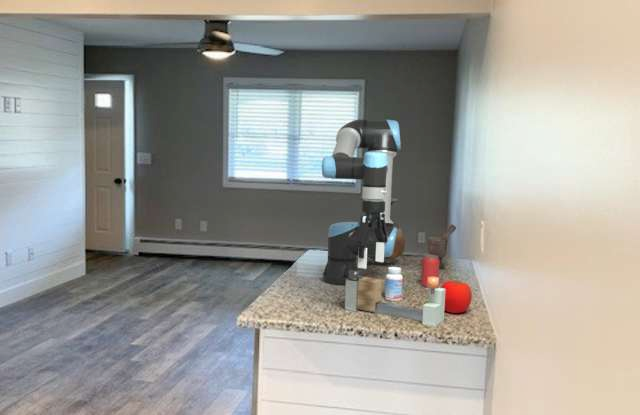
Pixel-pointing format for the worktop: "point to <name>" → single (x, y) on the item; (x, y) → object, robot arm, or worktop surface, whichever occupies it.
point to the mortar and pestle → (440, 245)
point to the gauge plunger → (433, 283)
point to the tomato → (456, 296)
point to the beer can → (429, 268)
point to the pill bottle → (393, 284)
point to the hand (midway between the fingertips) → (371, 264)
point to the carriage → (369, 293)
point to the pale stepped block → (434, 308)
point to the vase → (398, 244)
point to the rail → (380, 307)
